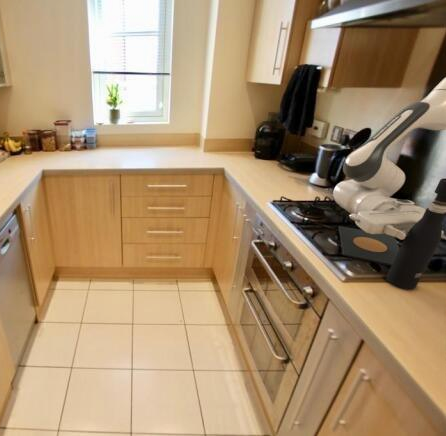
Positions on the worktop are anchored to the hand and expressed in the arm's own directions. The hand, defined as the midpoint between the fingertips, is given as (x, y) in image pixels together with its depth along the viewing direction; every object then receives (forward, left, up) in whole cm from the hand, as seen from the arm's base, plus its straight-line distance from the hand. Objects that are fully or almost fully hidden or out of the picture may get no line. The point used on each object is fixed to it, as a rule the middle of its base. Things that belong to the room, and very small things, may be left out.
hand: (423, 236), depth 80 cm
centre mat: (+5, -18, -15) cm, 24 cm away
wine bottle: (0, 0, -15) cm, 15 cm away
